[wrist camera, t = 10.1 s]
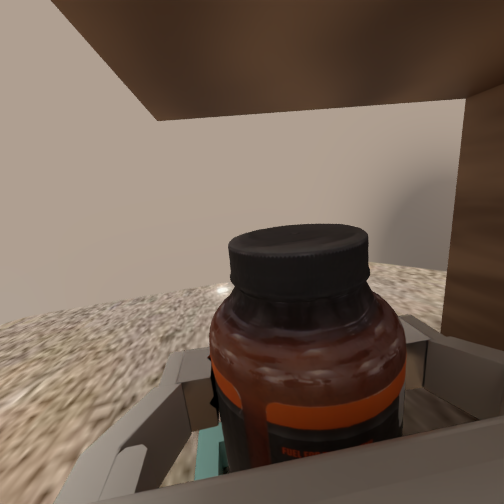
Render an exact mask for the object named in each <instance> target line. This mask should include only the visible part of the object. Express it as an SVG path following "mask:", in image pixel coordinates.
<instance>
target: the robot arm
mask: <svg viewBox="0 0 504 504" xmlns="http://www.w3.org/2000/svg"><path fill="white" fill-rule="evenodd" d="M398 318H399V319H400V321H401V323H402V325H403V328H404V332H405V338H406V350H407V356H406V375H405V390H410V389H416V388H422V387H424V389H426V390H427V391H429V392H431V393H433V394H435V395H436V396H438V397H440V398H442V399H444V400H445V401H447V402H449V403H451V404H453V405H454V406H456V407H458V408H460V409H461V410H463V411H465V412H467V413H469V414H470V415H472V416H474V417H476V418H478V419H479V421H474V422H469V423H464V424H460V425H455V426H450V427H445V428H441V429H436V430H431V431H426V432H421V433H417V434H412V435H407V436H403V437H398V438H393V439H388V440H384V441H379V442H374V443H370V444H365V445H360V446H355V447H351V448H346V449H341V450H337V451H332V452H327V453H322V454H318V455H313V456H308V457H304V458H299V459H294V460H289V461H285V462H280V463H275V464H271V465H266V466H261V467H256V468H252V469H247V470H242V471H238V472H233V473H228V474H223V475H219V476H214V477H209V478H205V479H200V480H195V481H190V482H186V483H181V484H176V485H171V486H167V487H162V488H159V486H160V485H161V483H162V482H163V480H164V478H165V477H166V475H167V473H168V472H169V470H170V468H171V467H172V465H173V463H174V462H175V460H176V459H177V457H178V455H179V454H180V452H181V450H182V449H183V447H184V445H185V444H186V442H187V440H188V439H189V437H190V436H191V432H194V431H198V430H203V429H207V428H212V427H216V426H219V406H218V400H217V393H216V388H215V384H214V373H213V368H212V363H211V357H210V347H205V348H198V349H191V350H186V351H185V350H183V351H177V352H172V353H170V355H169V357H168V360H167V363H166V366H165V369H164V372H163V374H162V377H161V380H160V383H159V386H158V387H155V388H153V389H152V390H151V391H150V392H149V393H147V394H146V395H145V396H144V397H143V398H142V399H141V400H140V401H139V402H138V403H136V404H135V405H134V406H133V407H132V408H131V409H130V410H129V411H128V412H127V413H125V414H124V415H123V416H122V417H121V418H120V419H119V420H118V421H117V422H116V423H114V424H113V425H112V426H111V427H110V428H109V429H108V430H107V431H106V432H105V433H104V434H102V435H101V436H100V437H99V438H98V439H97V440H96V441H95V442H94V443H93V444H91V445H90V446H89V447H88V448H87V449H86V450H85V451H84V452H83V453H82V454H80V456H79V458H78V460H77V461H76V463H75V465H74V467H73V469H72V470H71V472H70V474H69V476H68V478H67V479H66V481H65V483H64V485H63V487H62V489H61V490H60V492H59V494H58V496H57V498H56V499H55V501H54V503H53V504H504V351H501V350H497V349H494V348H490V347H487V346H483V345H480V344H476V343H472V342H469V341H465V340H462V339H458V338H454V337H451V336H450V337H446V336H444V335H442V334H441V333H439V332H438V331H436V330H434V329H433V328H431V327H430V326H428V325H426V324H425V323H423V322H422V321H420V320H418V319H417V318H415V317H414V316H412V315H408V314H407V315H401V316H398Z"/></svg>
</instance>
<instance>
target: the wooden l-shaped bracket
mask: <svg viewBox="0 0 504 504" xmlns="http://www.w3.org/2000/svg"><path fill="white" fill-rule="evenodd" d="M51 1H52V2H53V3H54V4H55V6H56V7H57V8H58V9H59V10H60V11H61V12H62V14H63V15H64V16H65V17H66V18H67V19H68V20H69V22H70V23H71V24H72V25H73V26H74V27H75V28H76V29H77V31H78V32H79V33H80V34H81V35H82V36H83V37H84V38H85V40H86V41H87V42H88V43H89V44H90V45H91V46H92V47H93V49H94V50H95V51H96V52H97V53H98V54H99V55H100V57H101V58H102V59H103V60H104V61H105V62H106V63H107V64H108V66H109V67H110V68H111V69H112V70H113V71H114V72H115V74H116V75H117V76H118V77H119V78H120V79H121V80H122V81H123V83H124V84H125V85H126V86H127V87H128V88H129V89H130V90H131V92H132V93H133V94H134V95H135V96H136V97H137V98H138V100H139V101H141V103H142V104H143V105H144V106H145V108H146V109H147V110H148V111H149V112H150V113H151V114H152V115H153V116H154V118H155V119H156V120H157V121H165V120H179V119H192V118H205V117H219V116H233V115H247V114H260V113H274V112H287V111H302V110H315V109H329V108H343V107H355V106H370V105H383V104H397V103H411V102H424V101H438V100H452V99H466V103H465V112H464V121H463V131H462V139H461V149H460V158H459V167H458V176H457V185H456V196H455V204H454V214H453V222H452V232H451V242H450V250H449V259H448V268H447V277H446V287H445V296H444V305H443V314H442V323H441V334H442V335H444V336H446V337H450V336H451V337H454V338H458V339H462V340H465V341H469V342H472V343H476V344H480V345H483V346H487V347H490V348H494V349H497V350H501V351H504V0H51Z"/></svg>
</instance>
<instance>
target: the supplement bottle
mask: <svg viewBox="0 0 504 504" xmlns="http://www.w3.org/2000/svg"><path fill="white" fill-rule="evenodd" d="M228 249H229V258H230V267H231V274H230V280H231V282H232V284H234V286H235V287H234V289H233V291H232V293H231V294H230V296H228V297H227V298H226V299H225V300H224V301H223V303H222V304H221V305H220V306H219V308H218V309H217V311H216V312H215V314H214V316H213V319H212V322H211V326H210V333H209V342H210V357H211V363H212V368H213V373H214V384H215V388H216V393H217V400H218V406H219V412H220V418H221V424H222V431H223V437H224V443H225V448H226V454H227V460H228V466H229V472H230V473H233V472H238V471H242V470H247V469H252V468H256V467H261V466H266V465H271V464H275V463H280V462H285V461H289V460H294V459H299V458H304V457H308V456H313V455H318V454H322V453H327V452H332V451H337V450H341V449H346V448H351V447H355V446H360V445H365V444H370V443H374V442H379V441H384V440H388V439H393V438H398V437H402V428H403V412H404V394H405V375H406V356H407V350H406V338H405V332H404V328H403V325H402V323H401V321H400V319H399V318H398V316H397V314H396V313H395V311H394V310H393V309H392V308H391V306H390V305H389V304H388V303H387V302H386V301H385V300H384V299H383V298H381V297H380V295H379V294H376V293H375V292H373V291H372V290H371V289H370V287H369V285H368V283H367V282H366V281H367V279H368V278H369V276H370V269H369V265H368V234H367V233H366V232H365V231H364V230H362V229H361V228H358V227H354V226H349V225H343V224H302V225H288V226H280V227H273V228H267V229H261V230H256V231H252V232H249V233H245V234H242V235H239V236H237V237H235V238H233V239H232V240H231V241H230V242H229V245H228Z"/></svg>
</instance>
